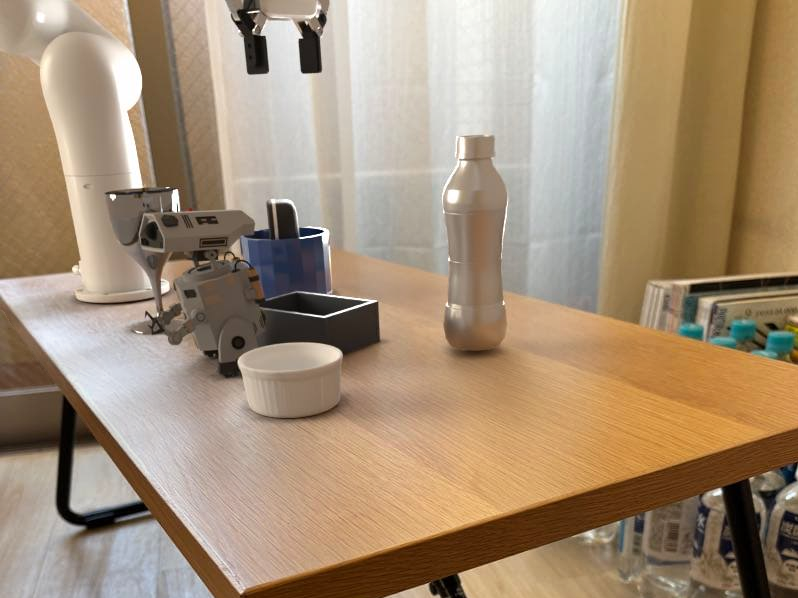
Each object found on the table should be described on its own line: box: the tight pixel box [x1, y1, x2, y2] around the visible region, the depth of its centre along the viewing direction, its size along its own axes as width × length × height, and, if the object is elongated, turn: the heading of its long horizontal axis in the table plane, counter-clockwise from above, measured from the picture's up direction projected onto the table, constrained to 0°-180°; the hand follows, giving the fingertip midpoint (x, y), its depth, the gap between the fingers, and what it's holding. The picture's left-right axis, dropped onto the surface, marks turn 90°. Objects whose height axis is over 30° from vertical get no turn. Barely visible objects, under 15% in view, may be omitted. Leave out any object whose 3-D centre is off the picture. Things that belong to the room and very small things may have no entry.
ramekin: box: [238, 342, 344, 419], centre depth 77 cm, size 9×9×4 cm
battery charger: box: [265, 198, 300, 240], centre depth 116 cm, size 7×4×11 cm, turn 9°
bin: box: [256, 291, 381, 356], centre depth 95 cm, size 9×12×4 cm
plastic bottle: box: [441, 134, 509, 352], centre depth 87 cm, size 6×7×20 cm
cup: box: [238, 226, 334, 299], centre depth 117 cm, size 11×11×8 cm
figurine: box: [139, 207, 268, 379], centre depth 86 cm, size 9×12×15 cm
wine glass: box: [105, 186, 185, 335], centre depth 102 cm, size 8×8×15 cm
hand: (285, 73), depth 112 cm, fingers open, 9 cm apart
